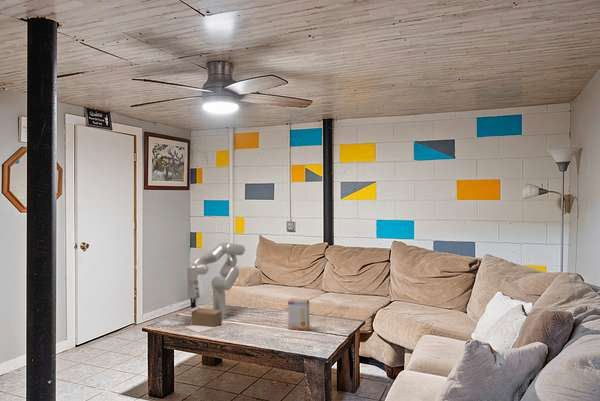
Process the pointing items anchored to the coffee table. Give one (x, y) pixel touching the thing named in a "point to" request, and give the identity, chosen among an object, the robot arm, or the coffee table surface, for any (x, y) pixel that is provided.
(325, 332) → the coffee table surface
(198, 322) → the wooden block
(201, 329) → the mat
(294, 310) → the cracker box
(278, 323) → the coffee table surface
